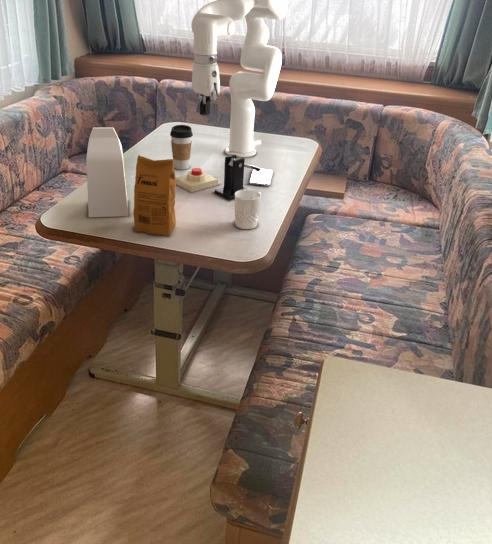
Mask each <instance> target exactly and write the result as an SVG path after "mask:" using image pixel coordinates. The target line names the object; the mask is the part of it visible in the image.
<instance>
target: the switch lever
mask: <svg viewBox="0 0 492 544" xmlns="http://www.w3.org/2000/svg"><path fill="white" fill-rule="evenodd" d="M233 160H236V159H234V158H231V159H230V162H229V165H230V166H233ZM244 168H247V169H251V170H253V169H254V170H256V171H260V170H261V169H262V168H260V167H258V166H256V165H253V164H251V163H250V164H247V163H244Z"/></svg>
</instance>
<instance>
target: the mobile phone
mask: <svg viewBox="0 0 492 544" xmlns="http://www.w3.org/2000/svg"><path fill="white" fill-rule="evenodd" d="M260 169H261V170H260V171H256V170H254V169H252V172H251V175H250V177H249V180H248V184H250V185H254V186H264V187H269V186H270V185H271V182H272V178H273V173H274V171H273V170H272V169H265V168H260Z"/></svg>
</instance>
